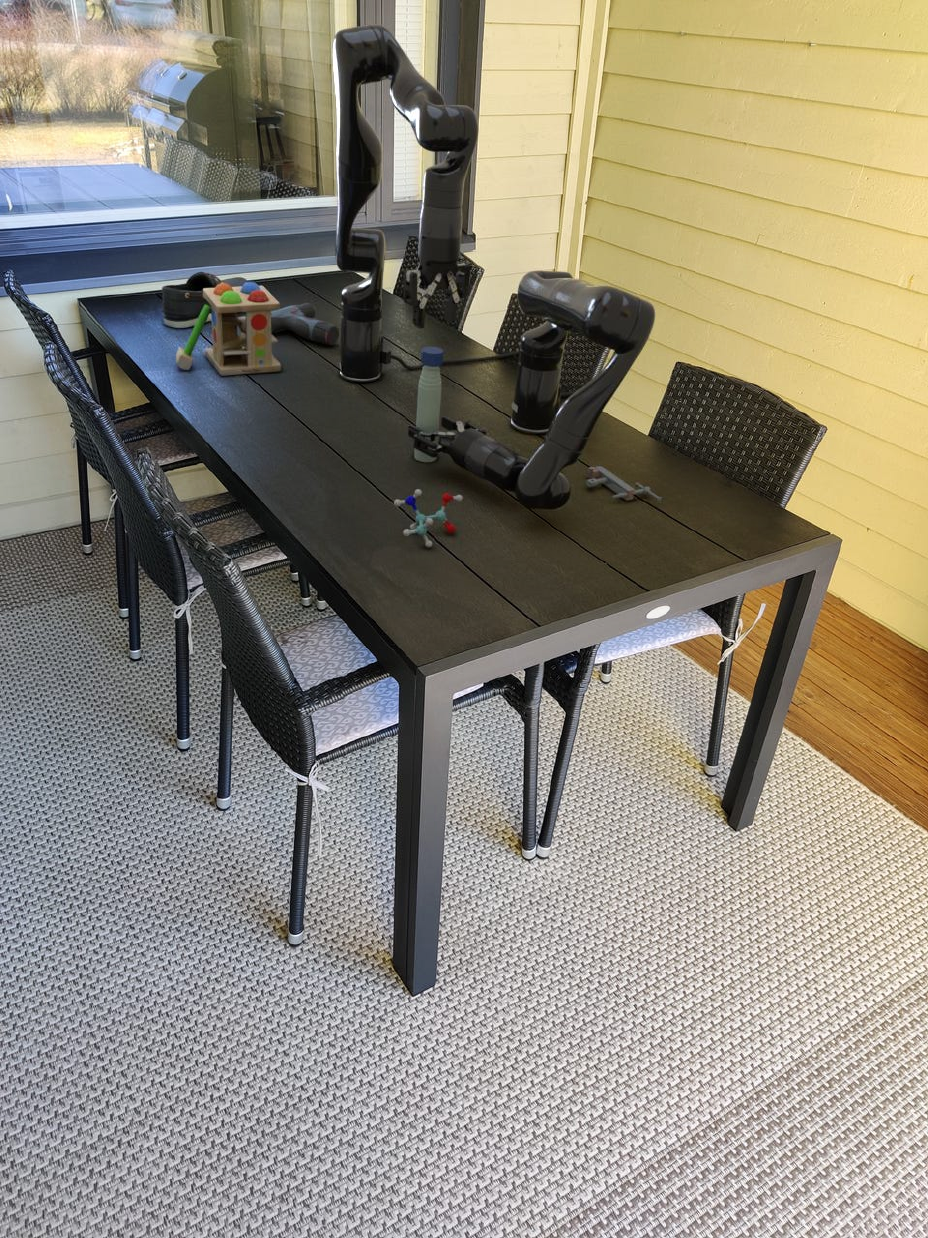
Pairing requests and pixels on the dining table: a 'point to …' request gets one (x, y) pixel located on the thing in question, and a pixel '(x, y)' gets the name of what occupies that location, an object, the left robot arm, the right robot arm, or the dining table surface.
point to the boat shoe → (191, 298)
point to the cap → (432, 356)
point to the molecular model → (428, 519)
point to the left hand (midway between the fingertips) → (434, 324)
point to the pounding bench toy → (229, 347)
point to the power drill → (304, 324)
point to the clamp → (598, 478)
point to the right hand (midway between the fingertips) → (426, 425)
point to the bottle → (428, 406)
